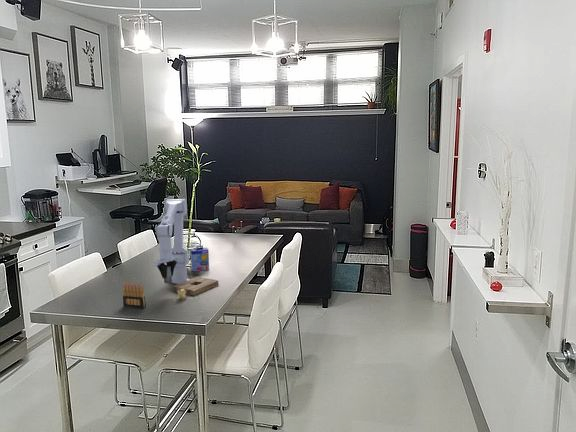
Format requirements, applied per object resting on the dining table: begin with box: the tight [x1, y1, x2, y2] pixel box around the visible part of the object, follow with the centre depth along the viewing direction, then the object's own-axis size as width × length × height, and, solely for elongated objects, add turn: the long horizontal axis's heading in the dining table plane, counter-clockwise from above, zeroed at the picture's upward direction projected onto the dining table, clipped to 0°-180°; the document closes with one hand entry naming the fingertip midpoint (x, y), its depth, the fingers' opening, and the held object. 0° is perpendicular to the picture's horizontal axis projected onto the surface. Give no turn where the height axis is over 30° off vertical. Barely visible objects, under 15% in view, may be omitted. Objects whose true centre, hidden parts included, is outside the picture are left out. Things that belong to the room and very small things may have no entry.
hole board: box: [172, 276, 219, 296], centre depth 236 cm, size 14×18×2 cm
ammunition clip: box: [122, 280, 147, 309], centre depth 211 cm, size 11×2×12 cm, turn 74°
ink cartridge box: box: [189, 245, 210, 272], centre depth 267 cm, size 10×6×14 cm, turn 111°
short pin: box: [177, 289, 187, 301], centre depth 220 cm, size 4×4×4 cm
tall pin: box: [163, 265, 172, 284], centre depth 224 cm, size 4×4×8 cm
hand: (167, 277), depth 224 cm, fingers closed on tall pin, 4 cm apart
